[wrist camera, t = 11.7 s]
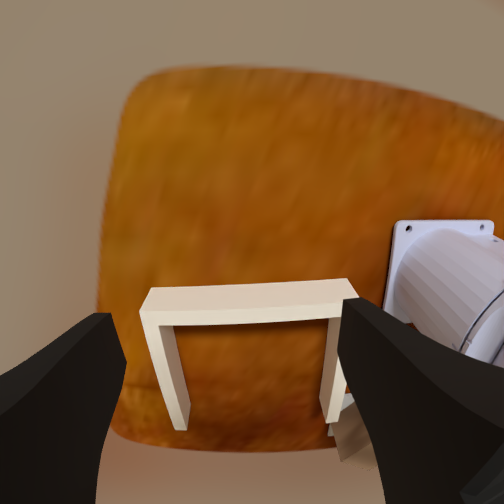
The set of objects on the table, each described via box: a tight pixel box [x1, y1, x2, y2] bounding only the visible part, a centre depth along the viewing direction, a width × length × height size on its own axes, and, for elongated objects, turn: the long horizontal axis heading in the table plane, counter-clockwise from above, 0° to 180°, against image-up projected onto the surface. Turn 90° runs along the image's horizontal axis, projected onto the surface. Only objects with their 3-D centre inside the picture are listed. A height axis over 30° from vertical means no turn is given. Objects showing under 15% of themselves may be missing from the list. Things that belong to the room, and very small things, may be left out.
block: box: [331, 401, 378, 470], centre depth 23 cm, size 4×4×5 cm
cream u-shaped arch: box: [139, 278, 359, 430], centre depth 21 cm, size 13×12×3 cm
